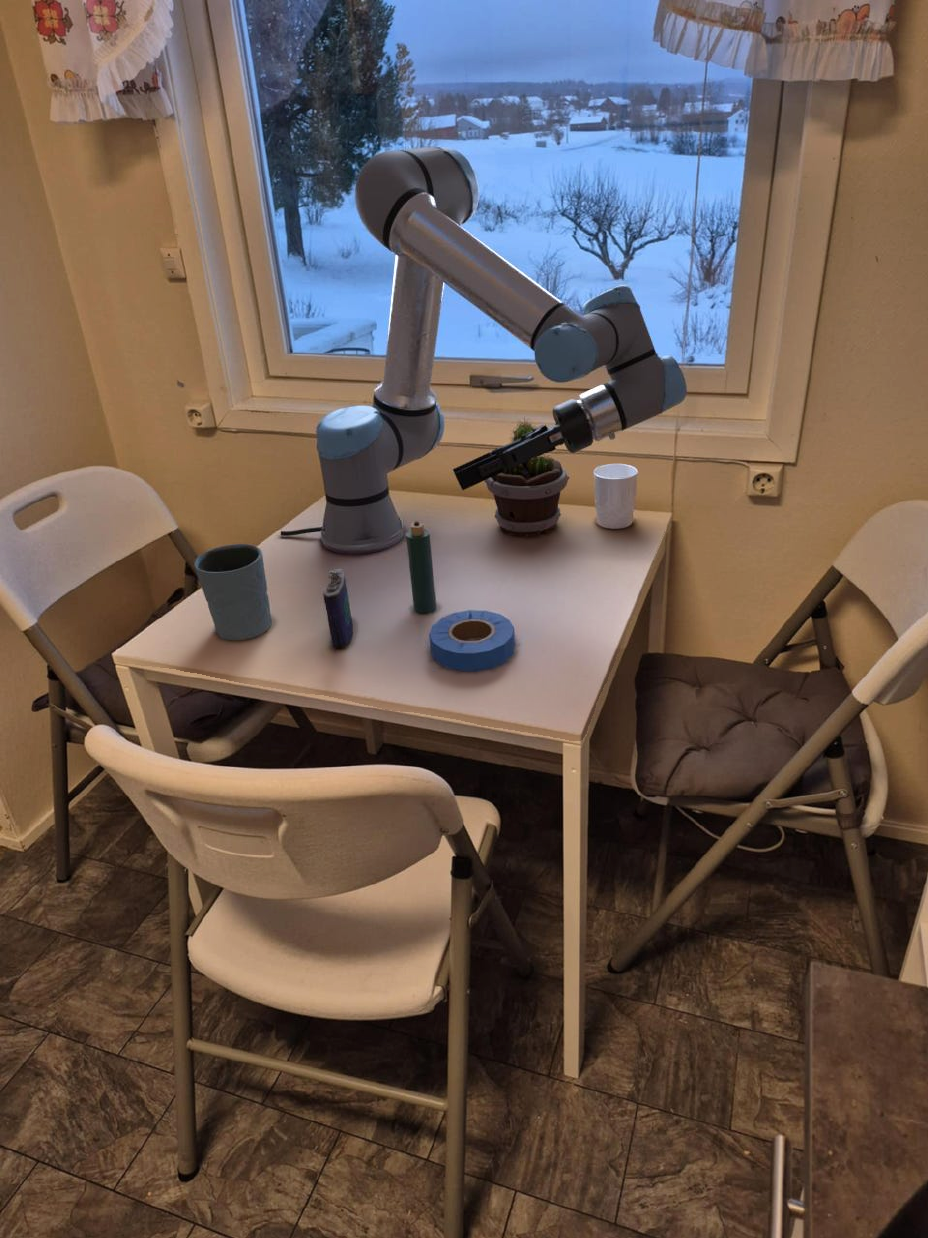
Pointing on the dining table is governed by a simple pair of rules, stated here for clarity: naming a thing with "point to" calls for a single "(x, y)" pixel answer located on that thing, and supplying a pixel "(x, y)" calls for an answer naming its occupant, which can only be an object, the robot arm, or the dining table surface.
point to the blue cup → (235, 590)
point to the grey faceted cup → (615, 495)
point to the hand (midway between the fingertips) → (457, 479)
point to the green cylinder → (421, 569)
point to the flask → (338, 610)
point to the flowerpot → (528, 492)
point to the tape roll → (472, 654)
